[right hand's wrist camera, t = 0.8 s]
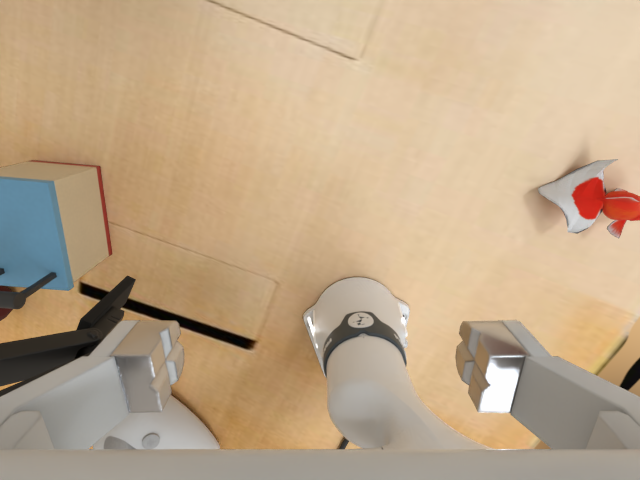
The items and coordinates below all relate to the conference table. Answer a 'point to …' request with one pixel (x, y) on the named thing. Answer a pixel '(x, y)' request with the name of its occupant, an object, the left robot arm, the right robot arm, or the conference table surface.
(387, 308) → the right robot arm
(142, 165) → the conference table surface
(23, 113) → the conference table surface
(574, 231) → the red and white toy
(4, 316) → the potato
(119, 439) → the white rounded slotted block
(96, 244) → the chest
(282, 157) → the conference table surface
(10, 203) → the lid
